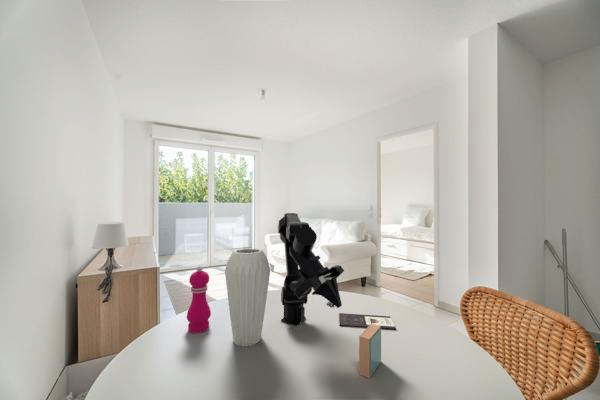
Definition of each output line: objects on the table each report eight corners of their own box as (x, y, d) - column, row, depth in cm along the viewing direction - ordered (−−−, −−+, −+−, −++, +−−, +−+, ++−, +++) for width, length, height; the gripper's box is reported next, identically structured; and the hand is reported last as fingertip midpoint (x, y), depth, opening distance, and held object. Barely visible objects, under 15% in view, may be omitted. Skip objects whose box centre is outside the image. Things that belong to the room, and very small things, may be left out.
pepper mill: (191, 336, 78) (192, 270, 78) (183, 327, 83) (184, 266, 84) (214, 329, 83) (215, 266, 83) (205, 321, 88) (206, 262, 88)
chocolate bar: (339, 313, 94) (390, 316, 92) (339, 315, 94) (390, 319, 92) (339, 324, 85) (395, 328, 83) (339, 327, 85) (395, 331, 83)
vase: (215, 339, 76) (216, 250, 77) (252, 324, 86) (253, 245, 86) (239, 358, 67) (240, 257, 67) (278, 339, 76) (279, 251, 77)
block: (359, 374, 61) (359, 336, 61) (371, 357, 68) (371, 323, 68) (370, 378, 60) (370, 339, 60) (381, 361, 66) (381, 326, 66)
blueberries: (339, 303, 107) (339, 298, 108) (342, 309, 99) (342, 304, 100) (323, 303, 107) (323, 298, 108) (325, 309, 99) (325, 304, 100)
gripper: (307, 269, 86) (337, 311, 79) (270, 283, 71) (302, 336, 64) (328, 248, 82) (361, 290, 75) (293, 258, 66) (330, 312, 60)
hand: (340, 306), depth 69 cm, fingers closed
